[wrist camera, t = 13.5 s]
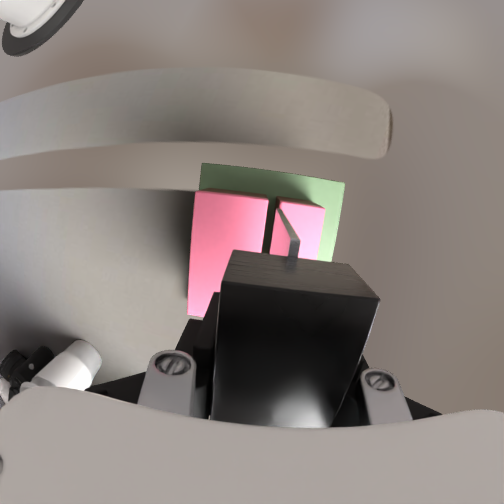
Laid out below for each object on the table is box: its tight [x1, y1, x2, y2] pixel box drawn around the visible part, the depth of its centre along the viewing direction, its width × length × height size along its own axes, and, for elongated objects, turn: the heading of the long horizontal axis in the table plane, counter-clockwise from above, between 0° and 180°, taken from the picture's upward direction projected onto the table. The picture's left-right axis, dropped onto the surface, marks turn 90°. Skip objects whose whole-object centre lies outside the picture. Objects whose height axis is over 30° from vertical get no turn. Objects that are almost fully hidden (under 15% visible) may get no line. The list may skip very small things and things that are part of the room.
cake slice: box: [268, 196, 325, 260], centre depth 22 cm, size 9×3×5 cm, turn 173°
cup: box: [20, 340, 102, 392], centre depth 24 cm, size 7×7×12 cm
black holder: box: [210, 208, 380, 428], centre depth 11 cm, size 9×3×10 cm, turn 173°
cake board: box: [199, 163, 345, 262], centre depth 25 cm, size 13×12×1 cm
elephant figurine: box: [0, 378, 11, 403], centre depth 30 cm, size 7×8×6 cm
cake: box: [187, 188, 268, 317], centre depth 22 cm, size 9×5×5 cm, turn 173°
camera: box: [0, 346, 54, 401], centre depth 27 cm, size 14×7×8 cm, turn 140°
